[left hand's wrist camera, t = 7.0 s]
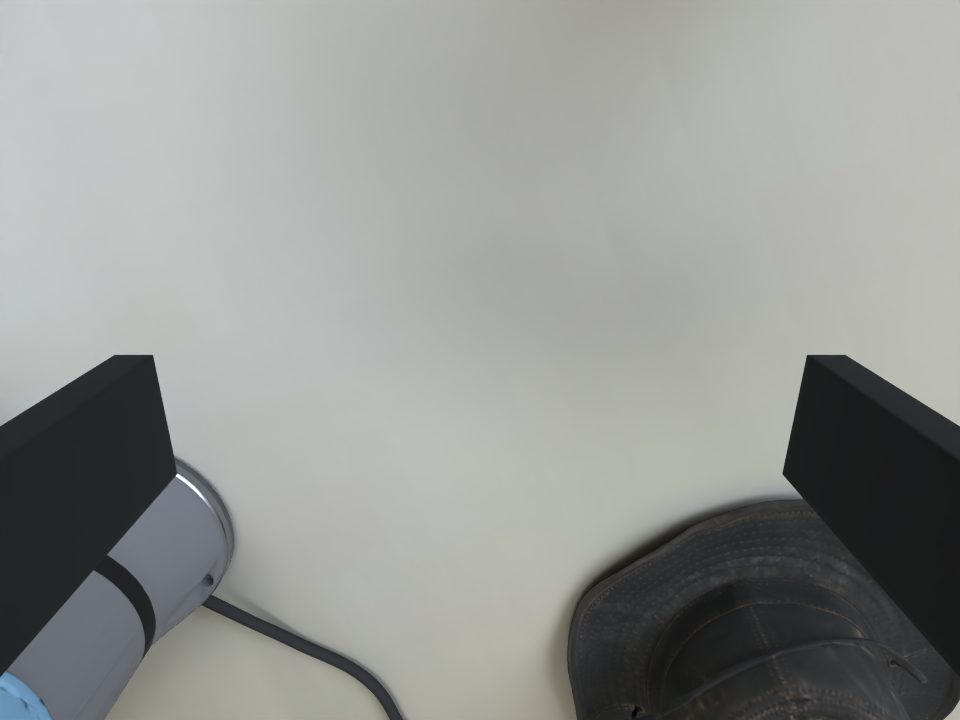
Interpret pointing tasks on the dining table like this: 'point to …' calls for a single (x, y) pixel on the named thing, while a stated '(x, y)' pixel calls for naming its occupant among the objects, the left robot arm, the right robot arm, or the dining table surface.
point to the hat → (752, 631)
